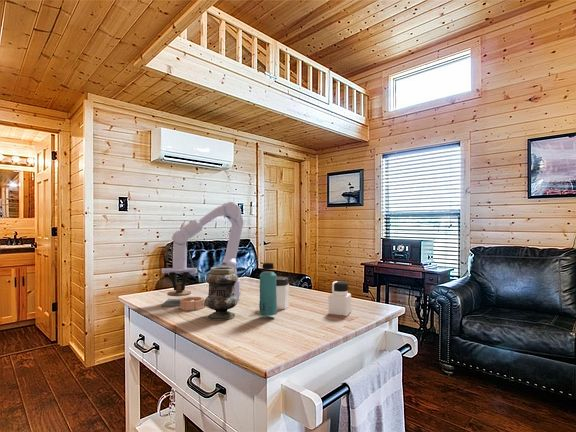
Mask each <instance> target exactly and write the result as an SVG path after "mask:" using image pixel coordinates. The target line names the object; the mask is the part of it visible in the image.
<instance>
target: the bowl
mask: <svg viewBox="0 0 576 432" xmlns="http://www.w3.org/2000/svg"><path fill="white" fill-rule="evenodd" d="M180 299H181V300H180V306H179V309H180V310H181V311H184V312H185V311H186V312H190V311H191V312H194V311H199V310H202V309H204V307H205V298H204V297H201V296H188V297H183V298H182V297H181V298H180Z"/></svg>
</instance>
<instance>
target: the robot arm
mask: <svg viewBox="0 0 576 432" xmlns="http://www.w3.org/2000/svg"><path fill="white" fill-rule="evenodd" d="M242 215H243V214H242V211H241V207H240V206H239V205H238V204H237V203H236V202H234V201H229V202H224V203H223V204H222V205H219V206H217V207H215V208H214V209H212V210H211V211H210V212H208V213H206V214H205V215H204V216H203V217H201V218H200V219H193V220H192V219H191V220H189V221H188V223H187V224H186V225H185V226H182V227H181V226H180V228H179V229H180V230H177V231H175V232H174V233H173V234H172V237H171V239H172V243H173V244H172V245H173V247H172V268H171V267H168V268H166V267H165V268H164V267H163V268H161V274H168V277H169V279H170V281H171V283H172V286H173V291H176V284H178V282H177V281H178V274H181V278H182V279H181V281H182V282H181V283H182V290H185V288H186V284H187V281H188V279H189V277H190V274H198V268H196V267H187V265H188V263H187V261H188V260H187V257H188V253H187V252H188V247H187V242H188V241H189V239H191V238H193V237H194V236H196V235H197V234H199V233H200V232H202V231H203V227H204V226H205V225H206V224H208V223H210V222H212V221H213V220H215V219H216V218H218V217H222V216H224V217H225V218H227V220H228V221H229V222H230V224H231V227H230V232H229V236H228V241H227V245H226V251H225V254H224V258H223V259H222V261H221V264H220V265H219V267H232V268H234V273H235V274H236V275H237V276H238V270H237V255H238V250H239V246H240V241H241V235H242V231H243V225H244V219H243V216H242ZM235 296H236V297H237V298H238V301H239V300H240V298H241V278H238V281H237V282H236V283H235Z"/></svg>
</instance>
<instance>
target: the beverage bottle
mask: <svg viewBox="0 0 576 432" xmlns="http://www.w3.org/2000/svg"><path fill="white" fill-rule="evenodd" d="M274 267H275V266H274V262H263V263H262V269H263V270H274ZM276 276H278V275H277V274H276V273H275V272H274V271H262V272H261V273H260V274H259V285H258V286H259V301H258V303H259V305H258V306H259V307H258V308H259V310H258V311H259V315H261V316H266V317H267V316H268V317H269V316H270V317H271V316H275V315H277V311H278V309H277V296H276Z"/></svg>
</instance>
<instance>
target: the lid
mask: <svg viewBox="0 0 576 432" xmlns="http://www.w3.org/2000/svg"><path fill="white" fill-rule="evenodd" d="M191 294H192V293H191V290H182V282H181V283H180V282H179V283H178V282H177V284H176V290H172V291H167V293H166V295H167V296H170V297H184V296H189V295H191Z"/></svg>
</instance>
